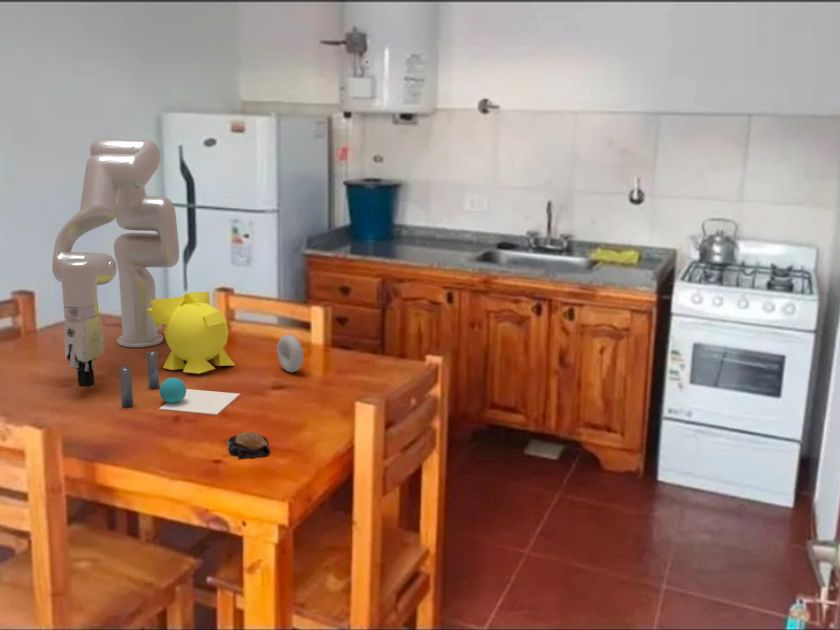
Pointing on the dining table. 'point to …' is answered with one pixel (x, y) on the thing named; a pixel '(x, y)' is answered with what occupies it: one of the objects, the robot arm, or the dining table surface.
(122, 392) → the post
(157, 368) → the post
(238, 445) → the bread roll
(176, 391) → the ball
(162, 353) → the dining table surface
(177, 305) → the piggy bank
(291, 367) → the donut
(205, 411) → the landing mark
